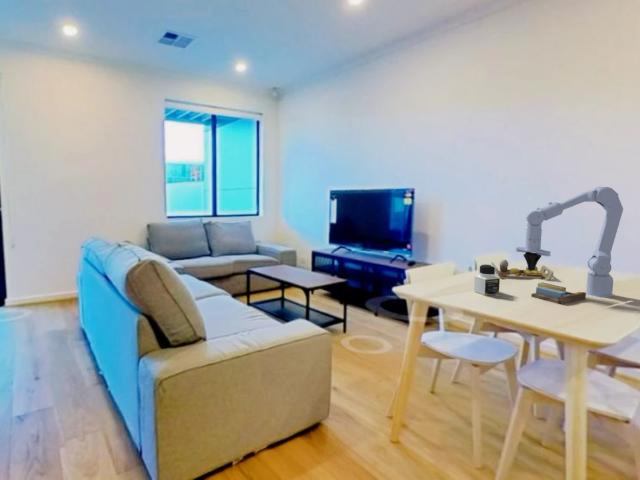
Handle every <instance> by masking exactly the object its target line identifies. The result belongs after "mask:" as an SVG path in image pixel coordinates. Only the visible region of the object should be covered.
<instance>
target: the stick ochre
mask: <svg viewBox="0 0 640 480" xmlns="http://www.w3.org/2000/svg"><path fill="white" fill-rule="evenodd" d="M537 287H545V288H549V289H554V290H558V291H562V292H567V287H565V286H559V285H556V284H552V283H546V282H538V283H537Z"/></svg>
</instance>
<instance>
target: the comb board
mask: <svg viewBox="0 0 640 480" xmlns="http://www.w3.org/2000/svg"><path fill="white" fill-rule="evenodd" d="M585 292H586V291H584V292H581V291H577V292H571V291H566V295H563V296H562V297H558V299H556V298H552V297H548V296H544V295H540V294H536V292H533V293H531V295H530V296H531V298H535V299H539V300H543V301H546V302H549V303H553V304H557V305H565V304H569V303H573V302H578V301H582V300H586V296H587V295H586V293H585Z"/></svg>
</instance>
